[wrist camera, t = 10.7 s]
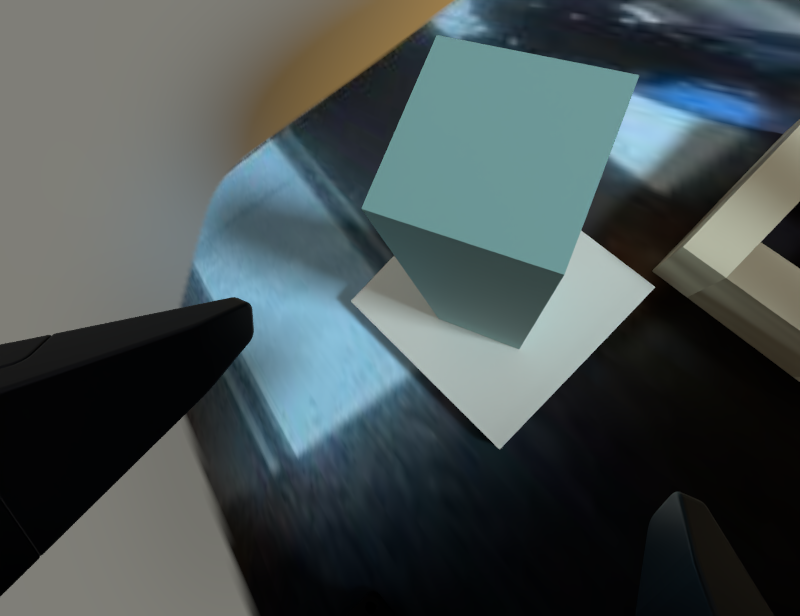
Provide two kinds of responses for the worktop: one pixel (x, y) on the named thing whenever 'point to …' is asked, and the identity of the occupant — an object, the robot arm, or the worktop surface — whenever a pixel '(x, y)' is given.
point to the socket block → (747, 258)
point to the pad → (500, 363)
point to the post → (495, 179)
